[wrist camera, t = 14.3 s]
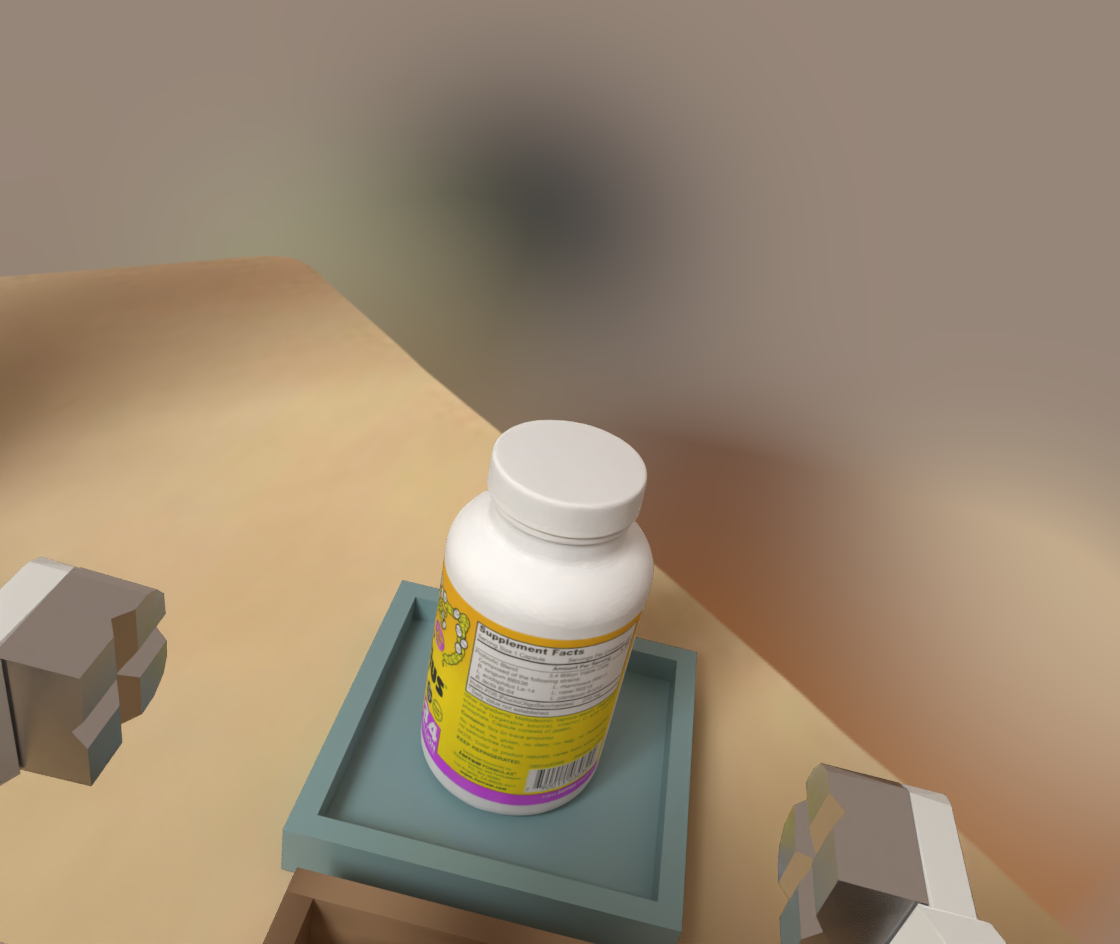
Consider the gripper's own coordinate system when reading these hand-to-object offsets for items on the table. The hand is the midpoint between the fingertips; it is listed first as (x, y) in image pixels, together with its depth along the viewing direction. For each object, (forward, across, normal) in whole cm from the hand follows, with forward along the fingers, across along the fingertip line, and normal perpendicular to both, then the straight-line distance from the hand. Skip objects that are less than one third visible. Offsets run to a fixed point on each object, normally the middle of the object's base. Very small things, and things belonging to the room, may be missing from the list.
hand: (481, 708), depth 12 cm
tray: (+16, -1, +20) cm, 25 cm away
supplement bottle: (+16, 0, +19) cm, 25 cm away
